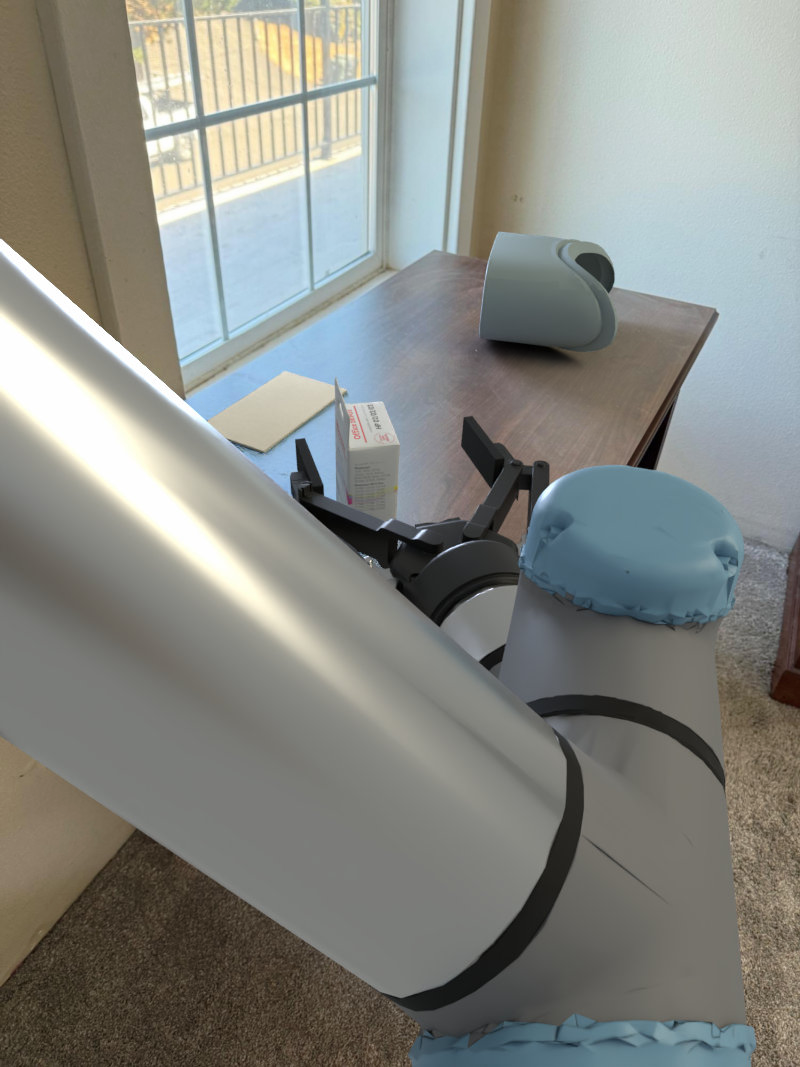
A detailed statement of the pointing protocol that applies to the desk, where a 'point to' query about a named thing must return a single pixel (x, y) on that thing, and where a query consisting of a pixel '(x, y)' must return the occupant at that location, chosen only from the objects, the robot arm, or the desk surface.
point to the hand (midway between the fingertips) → (385, 441)
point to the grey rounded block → (548, 293)
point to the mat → (273, 411)
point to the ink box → (366, 457)
